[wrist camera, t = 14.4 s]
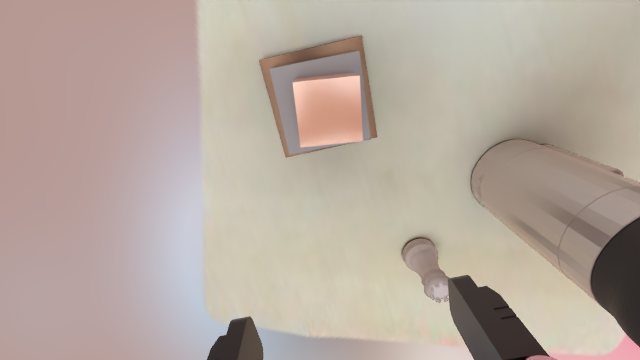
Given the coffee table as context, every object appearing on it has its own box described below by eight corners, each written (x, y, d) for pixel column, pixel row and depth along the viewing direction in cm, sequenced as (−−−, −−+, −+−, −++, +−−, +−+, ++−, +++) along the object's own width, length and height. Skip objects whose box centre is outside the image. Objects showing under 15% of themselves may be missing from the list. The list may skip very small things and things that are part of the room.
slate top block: (354, 51, 30) (359, 50, 27) (365, 132, 33) (370, 139, 30) (272, 67, 30) (269, 69, 27) (290, 146, 33) (289, 154, 30)
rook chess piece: (396, 243, 41) (416, 285, 33) (429, 231, 40) (457, 271, 33) (406, 269, 42) (427, 314, 35) (438, 258, 42) (466, 301, 34)
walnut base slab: (356, 37, 32) (361, 35, 29) (371, 130, 36) (377, 137, 33) (263, 60, 33) (259, 60, 30) (287, 149, 36) (285, 157, 34)
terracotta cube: (351, 72, 28) (359, 75, 23) (354, 128, 30) (362, 141, 25) (295, 78, 28) (292, 82, 23) (301, 133, 30) (300, 147, 25)
